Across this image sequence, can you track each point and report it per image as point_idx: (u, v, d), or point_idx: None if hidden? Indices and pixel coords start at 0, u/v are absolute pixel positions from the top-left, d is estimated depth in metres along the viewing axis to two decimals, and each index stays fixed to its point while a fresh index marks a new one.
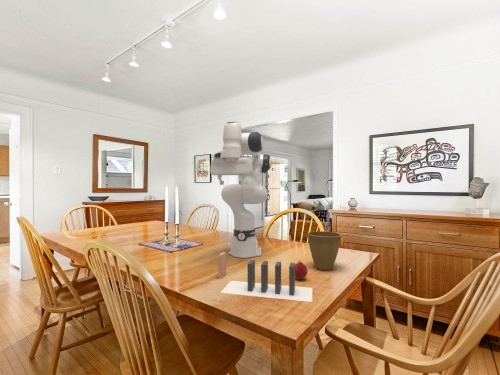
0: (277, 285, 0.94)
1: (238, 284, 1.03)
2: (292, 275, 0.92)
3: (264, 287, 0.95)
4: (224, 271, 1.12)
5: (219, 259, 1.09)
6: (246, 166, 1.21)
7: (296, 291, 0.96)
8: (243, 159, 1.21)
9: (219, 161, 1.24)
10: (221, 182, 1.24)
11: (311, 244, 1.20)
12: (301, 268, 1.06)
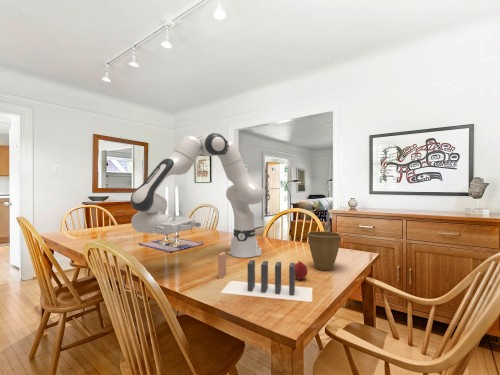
0: (277, 285, 0.94)
1: (238, 284, 1.03)
2: (292, 275, 0.92)
3: (264, 287, 0.95)
4: (224, 271, 1.12)
5: (219, 259, 1.09)
6: None
7: (296, 291, 0.96)
8: None
9: None
10: (198, 226, 1.19)
11: (311, 244, 1.20)
12: (301, 268, 1.06)
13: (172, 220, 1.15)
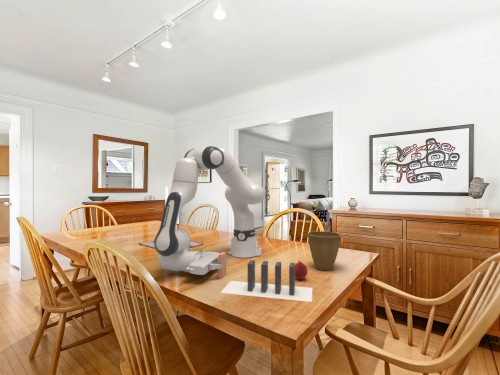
0: (277, 285, 0.94)
1: (238, 284, 1.03)
2: (292, 275, 0.92)
3: (264, 287, 0.95)
4: (224, 271, 1.12)
5: (219, 259, 1.09)
6: None
7: (296, 291, 0.96)
8: None
9: None
10: None
11: (311, 244, 1.20)
12: (301, 268, 1.06)
13: (200, 258, 1.13)
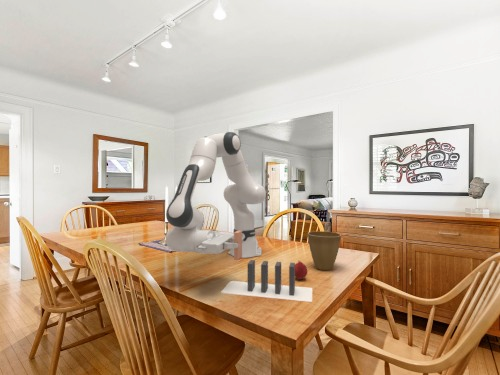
0: (277, 285, 0.94)
1: (238, 284, 1.03)
2: (292, 275, 0.92)
3: (264, 287, 0.95)
4: (240, 252, 1.00)
5: (235, 237, 0.97)
6: None
7: (296, 291, 0.96)
8: None
9: None
10: None
11: (311, 244, 1.20)
12: (301, 268, 1.06)
13: (213, 237, 1.01)
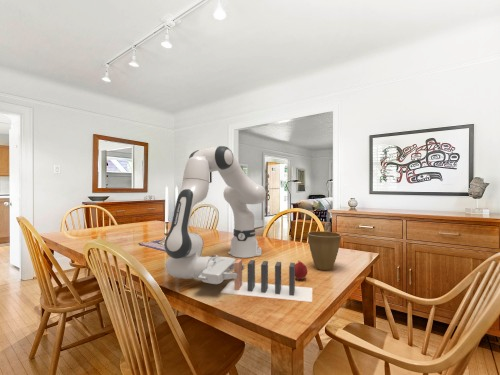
0: (277, 285, 0.94)
1: None
2: (292, 275, 0.92)
3: (264, 287, 0.95)
4: (241, 281, 1.00)
5: (235, 268, 0.97)
6: None
7: (296, 291, 0.96)
8: None
9: None
10: None
11: (311, 244, 1.20)
12: (301, 268, 1.06)
13: (213, 264, 1.01)
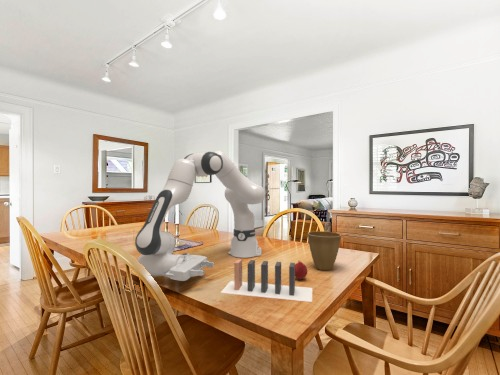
0: (277, 285, 0.94)
1: None
2: (292, 275, 0.92)
3: (264, 287, 0.95)
4: (241, 281, 1.00)
5: (235, 268, 0.97)
6: None
7: (296, 291, 0.96)
8: None
9: None
10: None
11: (311, 244, 1.20)
12: (301, 268, 1.06)
13: (182, 262, 1.04)
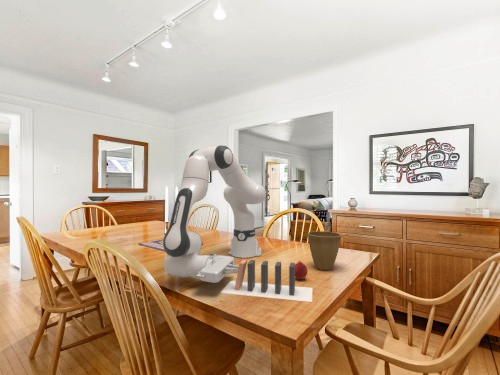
0: (277, 285, 0.94)
1: None
2: (292, 275, 0.92)
3: (264, 287, 0.95)
4: (242, 281, 1.00)
5: (239, 268, 0.97)
6: None
7: (296, 291, 0.96)
8: None
9: None
10: None
11: (311, 244, 1.20)
12: (301, 268, 1.06)
13: (211, 263, 1.01)
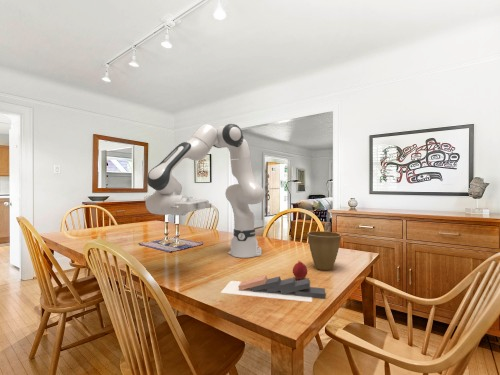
0: (289, 290, 0.93)
1: (238, 284, 1.03)
2: (316, 296, 0.90)
3: (272, 290, 0.94)
4: None
5: (259, 282, 0.95)
6: None
7: None
8: None
9: None
10: None
11: (311, 244, 1.20)
12: (301, 268, 1.06)
13: (186, 200, 1.14)
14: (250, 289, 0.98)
